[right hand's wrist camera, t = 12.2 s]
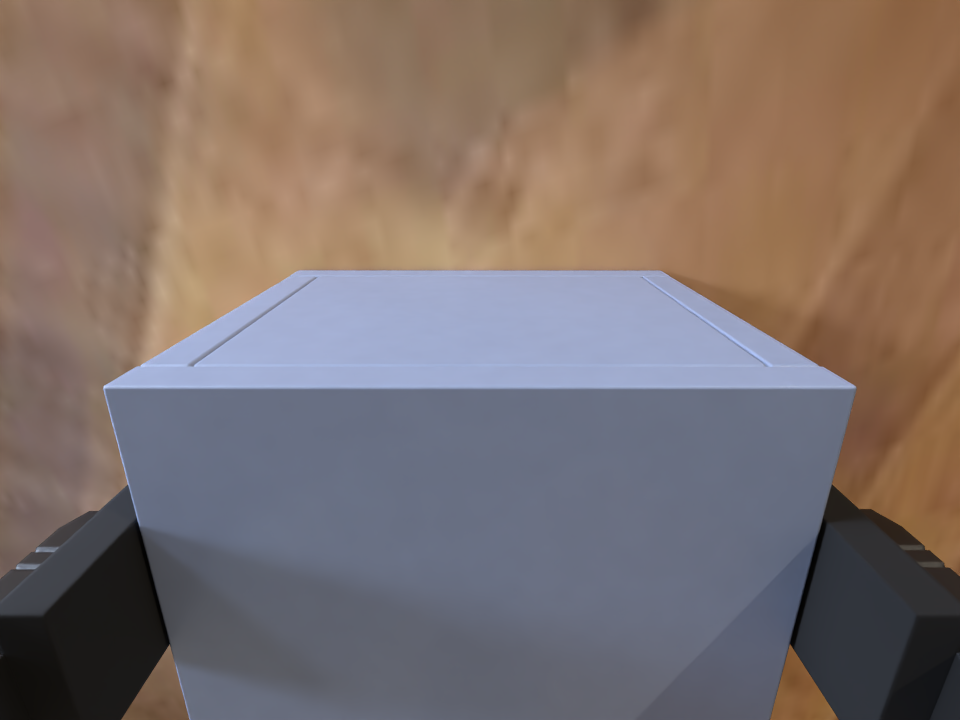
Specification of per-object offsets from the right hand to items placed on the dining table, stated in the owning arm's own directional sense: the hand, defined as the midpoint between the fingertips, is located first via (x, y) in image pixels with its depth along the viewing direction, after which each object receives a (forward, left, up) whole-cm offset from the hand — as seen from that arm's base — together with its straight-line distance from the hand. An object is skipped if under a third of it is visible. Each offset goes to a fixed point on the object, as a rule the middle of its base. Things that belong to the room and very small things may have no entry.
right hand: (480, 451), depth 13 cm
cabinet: (+3, -5, -4) cm, 7 cm away
